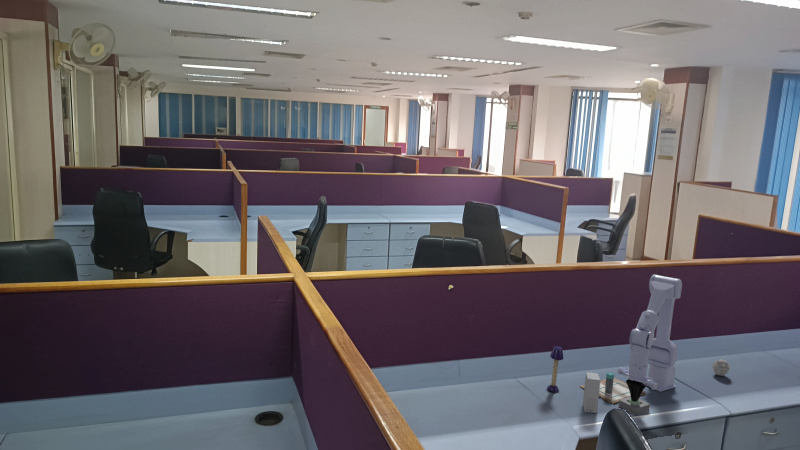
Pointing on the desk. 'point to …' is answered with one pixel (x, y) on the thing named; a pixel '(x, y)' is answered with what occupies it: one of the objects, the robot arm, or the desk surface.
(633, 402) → the button
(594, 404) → the skincare box
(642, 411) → the button housing
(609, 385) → the marker
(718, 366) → the grey lumpy rounded piece
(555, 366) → the toy lamp
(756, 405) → the desk surface
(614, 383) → the framed board
